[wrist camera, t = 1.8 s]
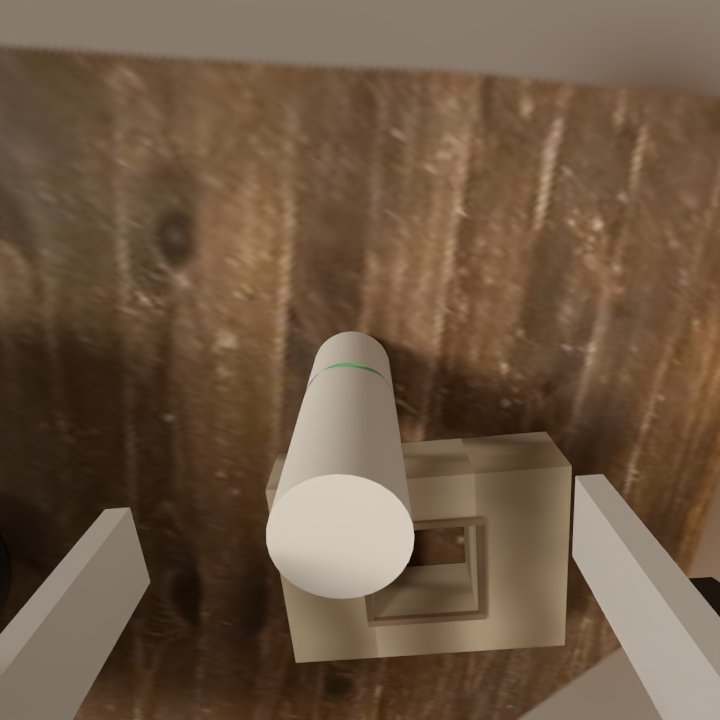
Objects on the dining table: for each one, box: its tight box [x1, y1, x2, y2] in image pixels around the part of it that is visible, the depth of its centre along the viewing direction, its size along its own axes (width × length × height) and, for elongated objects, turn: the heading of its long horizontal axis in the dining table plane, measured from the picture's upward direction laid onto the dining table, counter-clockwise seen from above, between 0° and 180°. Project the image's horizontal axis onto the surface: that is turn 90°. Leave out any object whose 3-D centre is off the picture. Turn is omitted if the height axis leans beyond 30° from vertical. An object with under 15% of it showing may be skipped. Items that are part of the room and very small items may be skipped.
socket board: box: [265, 431, 572, 663], centre depth 30 cm, size 16×12×4 cm
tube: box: [266, 332, 414, 599], centre depth 22 cm, size 4×4×15 cm
